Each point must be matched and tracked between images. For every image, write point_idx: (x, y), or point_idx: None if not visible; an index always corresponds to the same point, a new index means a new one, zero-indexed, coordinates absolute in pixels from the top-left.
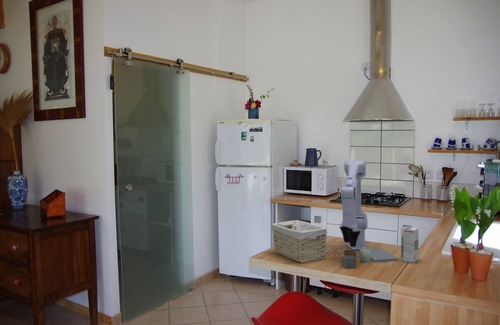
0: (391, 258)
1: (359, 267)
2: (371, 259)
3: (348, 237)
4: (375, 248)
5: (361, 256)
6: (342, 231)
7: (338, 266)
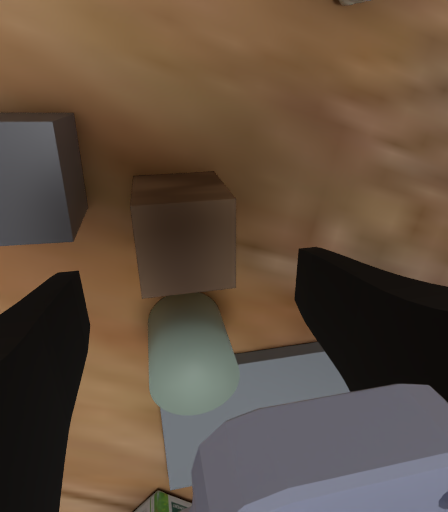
0: (173, 463)
1: None
2: None
3: (326, 329)
4: None
5: (174, 317)
6: (408, 303)
7: (45, 59)
